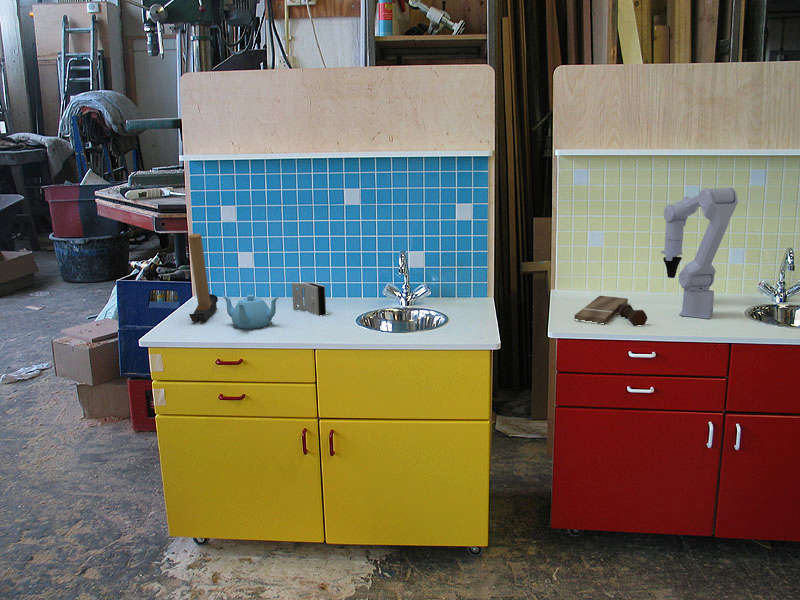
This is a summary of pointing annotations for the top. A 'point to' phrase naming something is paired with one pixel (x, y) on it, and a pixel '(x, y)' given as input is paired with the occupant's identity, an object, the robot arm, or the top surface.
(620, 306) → the bolt
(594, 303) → the plank
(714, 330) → the top surface
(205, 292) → the hammer
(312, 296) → the hinge
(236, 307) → the teapot
